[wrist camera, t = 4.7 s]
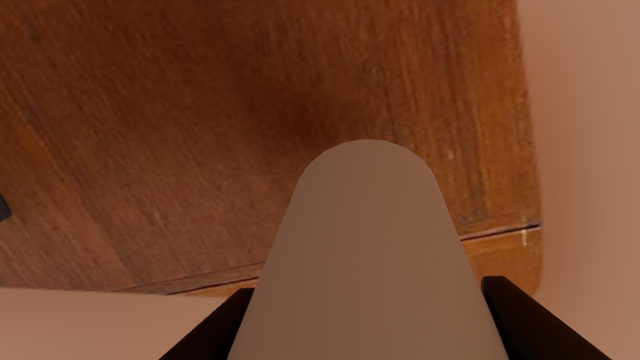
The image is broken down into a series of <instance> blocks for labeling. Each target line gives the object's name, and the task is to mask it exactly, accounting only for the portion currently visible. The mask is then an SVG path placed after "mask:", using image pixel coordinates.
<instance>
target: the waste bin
mask: <svg viewBox="0 0 640 360" xmlns="http://www.w3.org/2000/svg"><path fill="white" fill-rule="evenodd" d="M10 216H12V214H11V212H10V210H9V209H8V207H7V205H6V203H5V202H4V200H3V198H2V196H1V195H0V222H2V221H3V220H5V219H7V218H8V217H10Z"/></svg>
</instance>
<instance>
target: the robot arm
mask: <svg viewBox="0 0 640 360" xmlns="http://www.w3.org/2000/svg"><path fill="white" fill-rule="evenodd" d="M254 290H255V288H241V289H239V290H237V291H236V292H235V293H234V294H233V295H232V296H230V297H229V298H228V299H227V300H226V301H225V302H224V303H222V304H221V305H220V306H219V307H218V308H217V309H216V310H214V311H213V312H212V313H211V314H210V315H209V316H208V317H206V318H205V319H204V320H203V321H202V322H201V323H200V324H198V325H197V326H196V327H195V328H194V329H193V330H192V331H191V332H190V333H188V334H187V335H186V336H185V337H184V338H183V339H181V340H180V341H179V342H178V343H177V344H176V345H175V346H174V347H172V348H171V349H170V350H169V351H168V352H167V353H165V354H164V355H163V356H162V357H161V358H160V359H159V360H227V358H228V355H229V353H230V350H231V348H232V345H233V343H234V340H235V338H236V335H237V333H238V330H239V328H240V325H241V323H242V320H243V318H244V315H245V313H246V310H247V308H248V305H249V303H250V300H251V298H252V295H253V293H254ZM481 291H482V294H483V296H484V298H485V301H486V303H487V306H488V308H489V310H490V313H491V315H492V317H493V320H494V322H495V325H496V327H497V329H498V332H499V334H500V337H501V339H502V342H503V344H504V347H505V349H506V352H507V354H508V357H509V359H510V360H612V359H610V358H609V357H608V356H606V355H605V354H604V353H603V352H601V351H600V350H599V349H597V348H596V347H595V346H594V345H592V344H591V343H589V342H588V341H587V340H586V339H584V338H583V337H582V336H581V335H579V334H578V333H577V332H575V331H574V330H573V329H572V328H570V327H569V326H568V325H566V324H565V323H564V322H562V321H561V320H560V319H559V318H557V317H556V316H555V315H553V314H552V313H551V312H550V311H548V310H547V309H546V308H544V307H543V306H542V305H540V304H539V303H538V302H537V301H535V300H534V299H533V298H531V297H530V296H529V295H528V294H526V293H525V292H524V291H522V290H521V289H520V288H519V287H517V286H516V285H515V284H513V283H512V282H511V281H510V280H508V279H507V278H506V277H504V276H485V277H483V278H482V280H481Z"/></svg>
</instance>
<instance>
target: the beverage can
mask: <svg viewBox="0 0 640 360" xmlns="http://www.w3.org/2000/svg"><path fill="white" fill-rule="evenodd" d="M227 360H510V359H509V357H508V354H507V352H506V349H505V347H504V344H503V342H502V339H501V337H500V334H499V332H498V329H497V327H496V325H495V322H494V320H493V317H492V315H491V313H490V310H489V308H488V306H487V303H486V301H485V298H484V296H483V294H482V291H481V289H480V287H479V284H478V282H477V279H476V277H475V275H474V272H473V270H472V268H471V265H470V263H469V260H468V258H467V256H466V253H465V251H464V248H463V246H462V244H461V241H460V239H459V236H458V234H457V232H456V229H455V227H454V224H453V222H452V219H451V217H450V214H449V212H448V209H447V207H446V204H445V202H444V199H443V197H442V194H441V191H440V189H439V186H438V183H437V181H436V178H435V176H434V174H433V173H432V171H431V170H430V169H429V167H428V166H427V164H426V163H425V162H424V160H423V159H421V158H420V157H419V156H417V155H416V154H414V153H413V152H411V151H410V150H409V149H407V148H406V147H403V146H400V145H397V144H394V143H391V142H388V141H384V140H371V139H361V140H355V141H349V142H344V143H341V144H339V145H337V146H335V147H333V148H330V149H328V150H326V151H324V152H323V153H322V154H320V155H319V156H318V157H317V158H316V159H314V160H313V161H312V162H311V163H310V164H309V165H308V166H307V168H306V169H305V171H304V172H303V174H302V175H301V177H300V178H299V180H298V183H297V185H296V188H295V190H294V193H293V195H292V198H291V200H290V203H289V205H288V208H287V210H286V213H285V215H284V218H283V220H282V223H281V225H280V228H279V230H278V233H277V235H276V238H275V240H274V243H273V245H272V248H271V250H270V253H269V255H268V258H267V260H266V263H265V265H264V268H263V270H262V273H261V275H260V278H259V280H258V283H257V285H256V288H255V290H254V293H253V295H252V298H251V300H250V303H249V305H248V308H247V310H246V313H245V315H244V318H243V320H242V323H241V325H240V328H239V330H238V333H237V335H236V338H235V340H234V343H233V345H232V348H231V350H230V353H229V355H228V358H227Z"/></svg>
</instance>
